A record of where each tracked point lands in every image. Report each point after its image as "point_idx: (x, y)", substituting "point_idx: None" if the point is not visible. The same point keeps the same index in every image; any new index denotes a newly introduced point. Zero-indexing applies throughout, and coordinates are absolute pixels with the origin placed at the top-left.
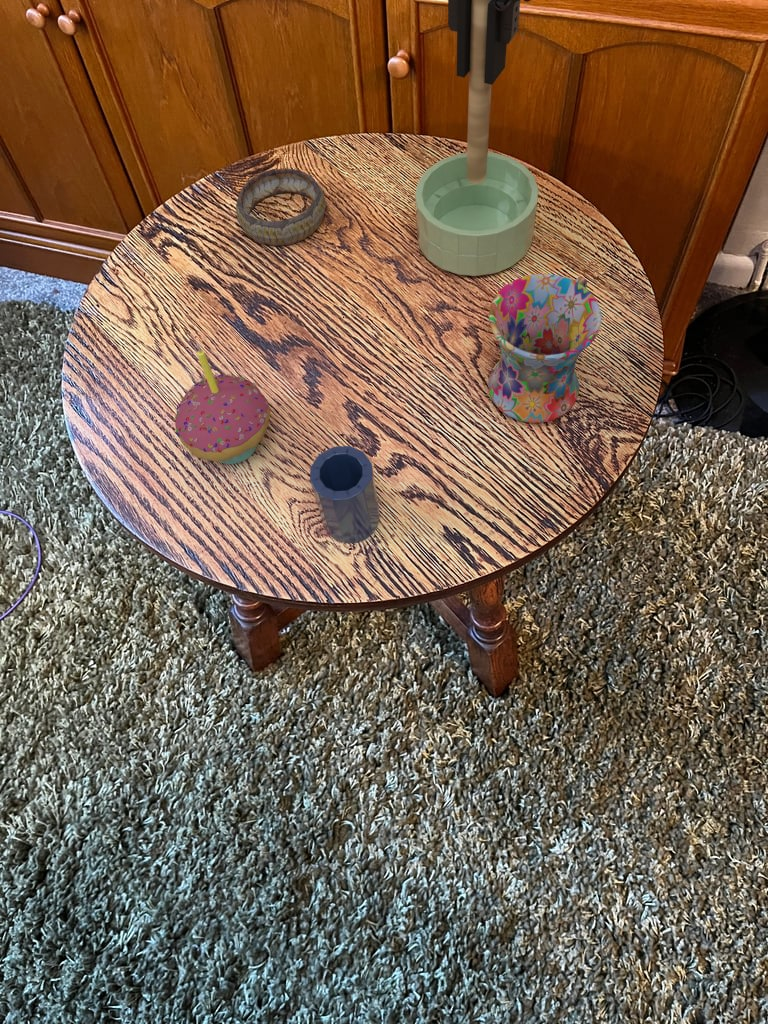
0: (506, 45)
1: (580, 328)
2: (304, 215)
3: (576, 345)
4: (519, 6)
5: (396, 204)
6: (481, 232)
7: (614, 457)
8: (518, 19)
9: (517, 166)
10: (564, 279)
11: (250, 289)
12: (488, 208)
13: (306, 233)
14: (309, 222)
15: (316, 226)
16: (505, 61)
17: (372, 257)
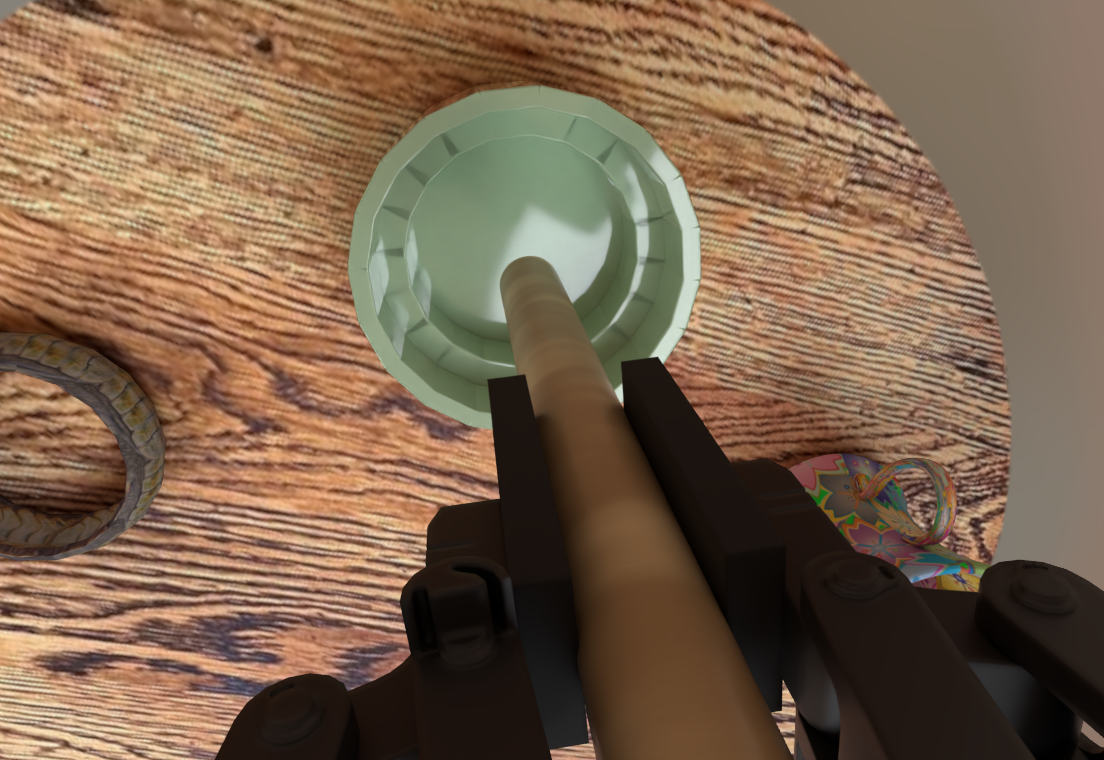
0: (682, 394)
1: (969, 578)
2: (137, 482)
3: (958, 586)
4: (842, 537)
5: (263, 238)
6: (620, 395)
7: (983, 548)
8: (810, 498)
9: (581, 116)
10: (942, 574)
11: (180, 618)
12: (499, 140)
13: (163, 471)
14: (154, 468)
15: (164, 439)
16: (664, 366)
17: (341, 417)
